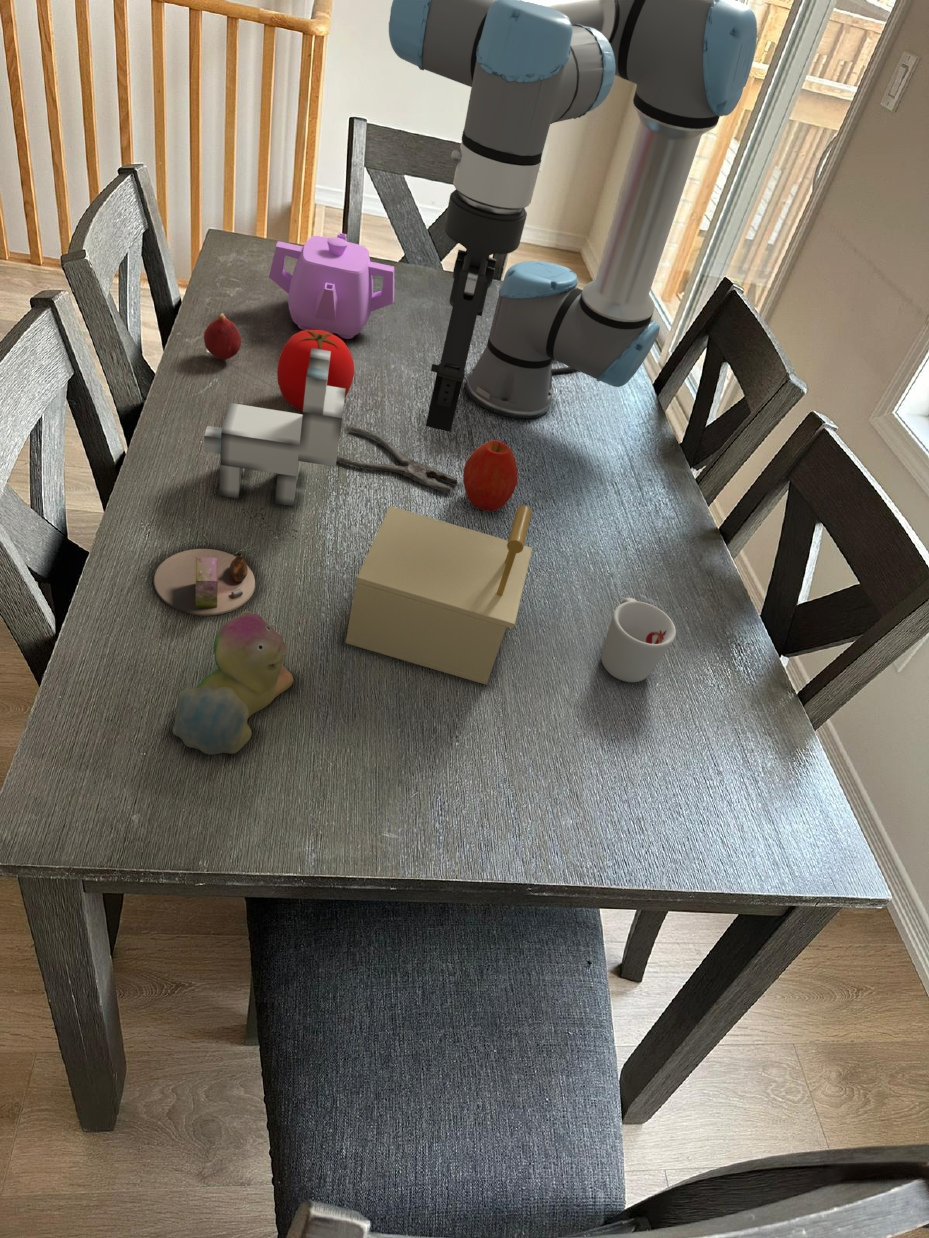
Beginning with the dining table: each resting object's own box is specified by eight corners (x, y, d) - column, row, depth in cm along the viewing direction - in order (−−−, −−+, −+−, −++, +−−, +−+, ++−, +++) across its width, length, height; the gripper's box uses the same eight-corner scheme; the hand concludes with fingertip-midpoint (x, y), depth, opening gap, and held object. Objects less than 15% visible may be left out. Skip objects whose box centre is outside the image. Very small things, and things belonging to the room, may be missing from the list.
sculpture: (240, 772, 90) (244, 708, 83) (163, 743, 91) (161, 678, 84) (298, 675, 101) (306, 612, 94) (229, 651, 101) (232, 586, 95)
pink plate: (257, 615, 106) (259, 588, 103) (151, 615, 103) (150, 586, 100) (253, 550, 115) (254, 523, 112) (154, 548, 111) (153, 519, 108)
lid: (530, 552, 110) (551, 493, 104) (513, 629, 100) (534, 568, 93) (389, 510, 110) (400, 449, 104) (355, 582, 100) (366, 518, 94)
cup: (584, 626, 118) (603, 582, 112) (640, 632, 119) (662, 588, 114) (600, 687, 110) (621, 643, 105) (660, 692, 112) (684, 649, 106)
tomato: (300, 433, 136) (308, 358, 128) (259, 395, 141) (264, 320, 133) (365, 416, 143) (376, 345, 135) (324, 381, 149) (332, 310, 140)
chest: (505, 607, 117) (524, 551, 110) (486, 685, 106) (506, 627, 100) (377, 569, 117) (389, 510, 110) (345, 643, 106) (355, 582, 100)
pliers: (342, 422, 139) (465, 457, 139) (341, 426, 140) (464, 461, 140) (324, 453, 132) (453, 490, 132) (323, 458, 132) (452, 495, 132)
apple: (447, 488, 134) (462, 427, 127) (496, 484, 137) (513, 425, 130) (469, 522, 129) (485, 460, 122) (518, 517, 132) (537, 457, 125)
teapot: (321, 355, 154) (331, 271, 144) (255, 309, 161) (260, 225, 151) (399, 334, 167) (413, 255, 156) (335, 292, 174) (344, 213, 164)
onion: (247, 360, 148) (249, 315, 143) (226, 373, 144) (227, 327, 138) (217, 347, 149) (219, 302, 144) (196, 359, 145) (196, 313, 140)
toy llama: (209, 461, 126) (212, 330, 113) (333, 480, 129) (350, 354, 116) (200, 492, 121) (202, 359, 107) (329, 511, 124) (347, 383, 110)
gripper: (463, 152, 93) (426, 339, 107) (435, 234, 74) (395, 447, 89) (533, 170, 93) (487, 354, 108) (522, 256, 75) (468, 464, 89)
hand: (445, 396), depth 98 cm, fingers open, 13 cm apart
